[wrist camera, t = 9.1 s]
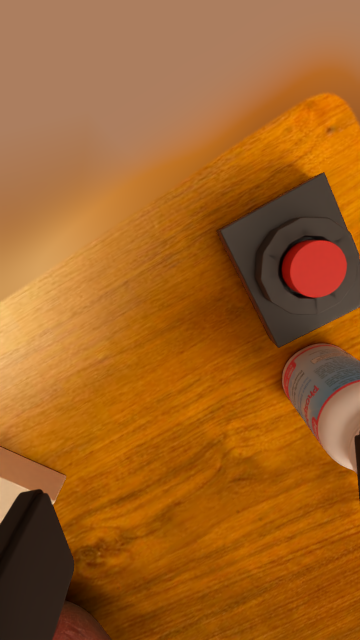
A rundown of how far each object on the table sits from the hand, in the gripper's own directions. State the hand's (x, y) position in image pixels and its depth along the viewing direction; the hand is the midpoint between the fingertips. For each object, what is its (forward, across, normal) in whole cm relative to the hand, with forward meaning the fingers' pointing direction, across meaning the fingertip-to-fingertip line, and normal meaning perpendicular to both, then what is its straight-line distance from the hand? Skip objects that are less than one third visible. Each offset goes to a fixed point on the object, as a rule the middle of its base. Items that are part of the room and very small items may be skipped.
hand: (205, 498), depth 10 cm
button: (+14, -9, -4) cm, 17 cm away
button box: (+18, -9, -4) cm, 20 cm away
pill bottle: (+18, -10, +6) cm, 21 cm away
